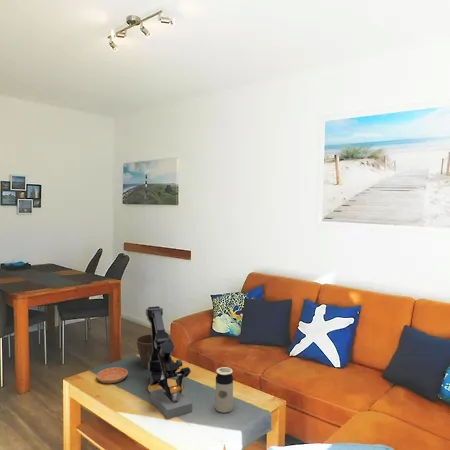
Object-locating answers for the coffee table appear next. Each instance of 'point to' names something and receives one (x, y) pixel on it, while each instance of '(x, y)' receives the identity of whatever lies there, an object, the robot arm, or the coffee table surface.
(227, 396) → the travel mug
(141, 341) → the plant pot
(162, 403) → the block
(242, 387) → the coffee table surface
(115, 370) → the saucer
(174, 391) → the lever handle
